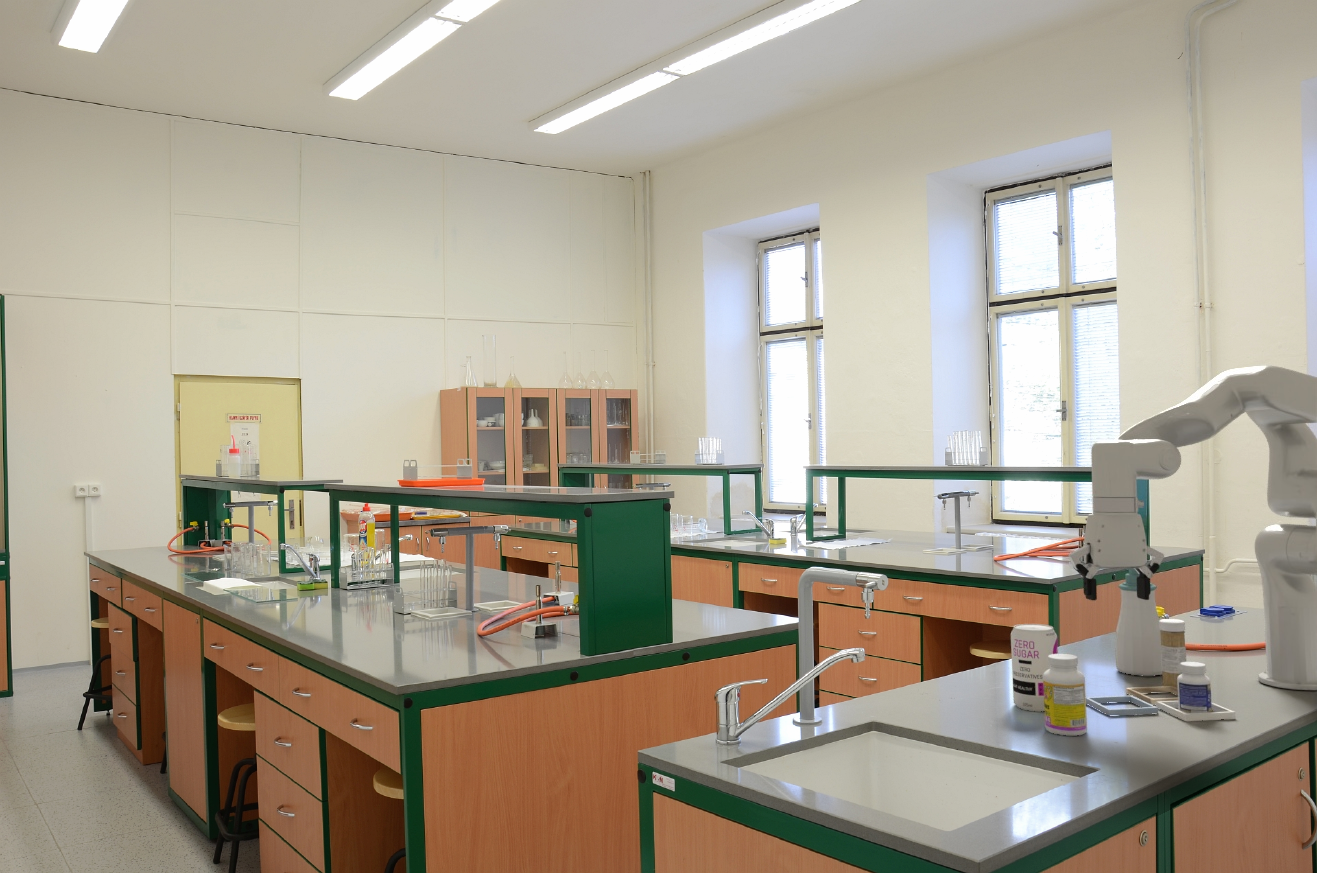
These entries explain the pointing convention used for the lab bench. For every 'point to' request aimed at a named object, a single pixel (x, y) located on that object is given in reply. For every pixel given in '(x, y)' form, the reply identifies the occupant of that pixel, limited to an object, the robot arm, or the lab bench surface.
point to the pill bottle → (1194, 688)
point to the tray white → (1217, 715)
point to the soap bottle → (1138, 631)
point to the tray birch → (1137, 691)
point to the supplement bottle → (1064, 696)
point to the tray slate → (1125, 711)
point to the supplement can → (1031, 663)
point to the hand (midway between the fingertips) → (1117, 599)
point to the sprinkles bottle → (1172, 649)
